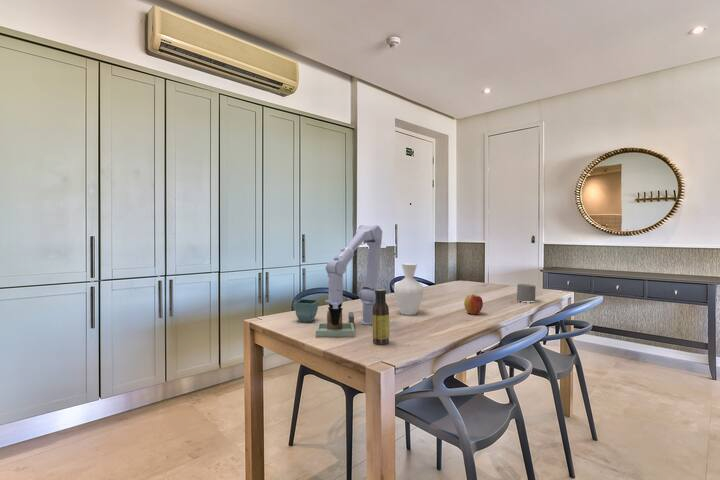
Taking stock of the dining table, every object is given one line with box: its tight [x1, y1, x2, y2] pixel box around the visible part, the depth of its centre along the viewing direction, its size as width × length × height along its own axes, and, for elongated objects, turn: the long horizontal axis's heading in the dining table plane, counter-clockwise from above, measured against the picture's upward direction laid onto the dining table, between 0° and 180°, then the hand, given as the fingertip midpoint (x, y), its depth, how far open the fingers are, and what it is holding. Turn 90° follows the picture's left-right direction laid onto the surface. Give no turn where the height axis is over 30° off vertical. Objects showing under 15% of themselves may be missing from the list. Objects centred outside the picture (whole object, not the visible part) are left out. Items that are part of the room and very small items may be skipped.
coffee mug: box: [516, 283, 536, 302], centre depth 223 cm, size 13×10×10 cm
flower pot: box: [294, 298, 320, 323], centre depth 170 cm, size 9×9×9 cm
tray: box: [315, 322, 355, 338], centre depth 151 cm, size 15×12×2 cm
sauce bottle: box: [372, 288, 390, 345], centre depth 139 cm, size 6×6×20 cm
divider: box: [347, 311, 355, 327], centre depth 162 cm, size 2×8×5 cm, turn 4°
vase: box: [394, 262, 424, 316], centre depth 187 cm, size 14×14×25 cm
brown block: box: [326, 310, 343, 330], centre depth 150 cm, size 6×6×6 cm
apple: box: [463, 294, 484, 315], centre depth 188 cm, size 9×9×10 cm
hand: (335, 322), depth 151 cm, fingers closed on brown block, 6 cm apart
